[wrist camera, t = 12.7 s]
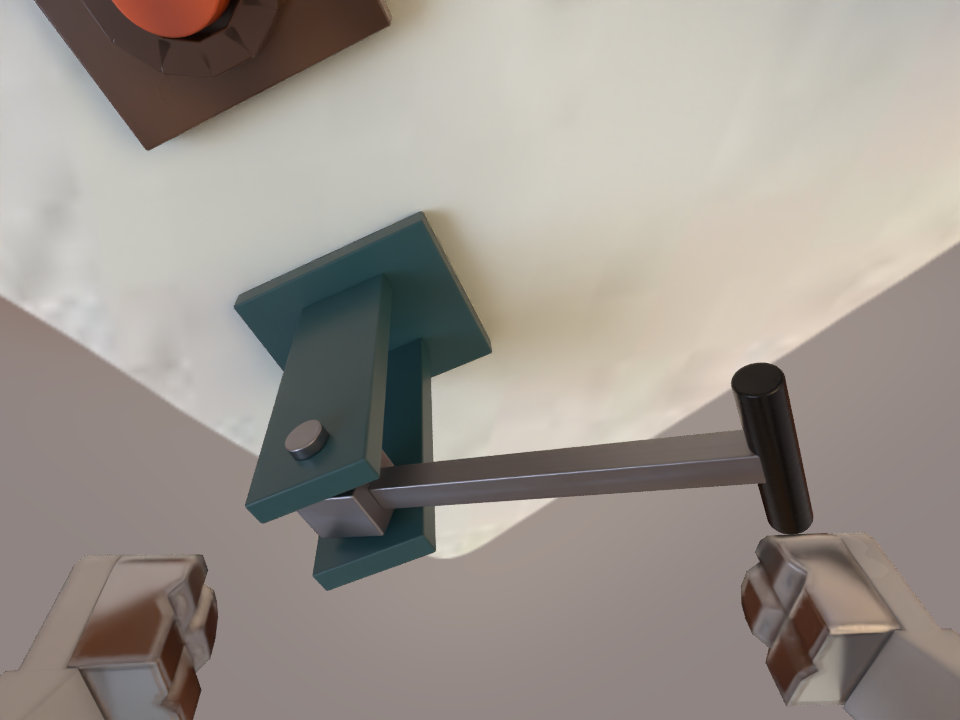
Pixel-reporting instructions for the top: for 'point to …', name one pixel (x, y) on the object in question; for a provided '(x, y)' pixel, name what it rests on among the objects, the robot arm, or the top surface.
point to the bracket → (358, 383)
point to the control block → (205, 55)
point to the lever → (602, 469)
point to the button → (172, 15)
